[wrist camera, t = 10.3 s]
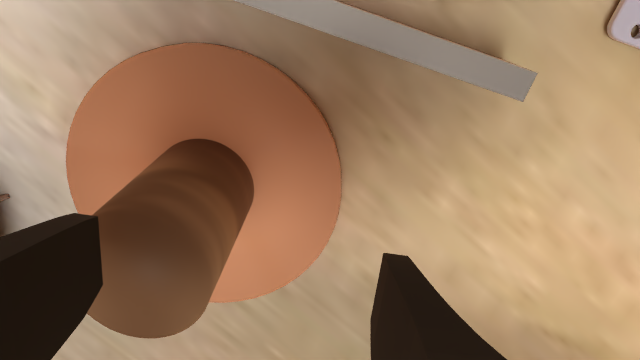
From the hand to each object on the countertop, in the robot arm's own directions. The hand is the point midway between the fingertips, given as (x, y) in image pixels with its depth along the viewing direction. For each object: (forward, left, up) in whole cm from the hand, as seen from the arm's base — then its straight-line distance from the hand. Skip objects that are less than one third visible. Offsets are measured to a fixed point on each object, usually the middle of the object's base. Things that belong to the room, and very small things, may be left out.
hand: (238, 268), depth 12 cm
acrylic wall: (+3, -6, -9) cm, 11 cm away
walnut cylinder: (+3, +2, -9) cm, 9 cm away
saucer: (+3, +2, -9) cm, 10 cm away
